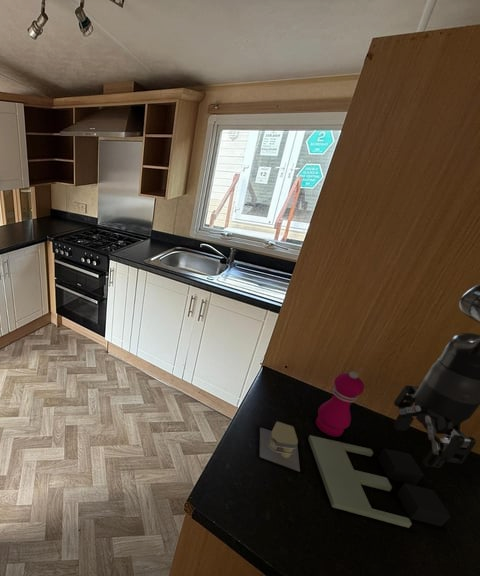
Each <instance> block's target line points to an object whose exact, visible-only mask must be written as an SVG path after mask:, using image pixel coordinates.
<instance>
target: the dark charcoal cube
mask: <svg viewBox="0 0 480 576" xmlns="http://www.w3.org/2000/svg"><path fill="white" fill-rule="evenodd" d="M377 460H378V462H379V464H380V465H381V467H382V470H383V471H384V473H385V475H386V478H387V479H388V480H393V481H396V482H400V483H403V484H404V483H406V484H410V485H414V486H418V484H419V482H420V481H421V480H422V478H423V477H424V475H425V474H424V472H423V471H422V469H421V467H419V465H418V464H417V463H418V462H416V460H415V459H414V457H413V456H412V454H411V453H407V452H403V451H400V450H399V451H398V450H394V449H389V448H383V449H382V451H381V452H380V454H379V455H378V457H377Z"/></svg>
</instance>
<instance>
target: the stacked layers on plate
mask: <svg viewBox="0 0 480 576" xmlns="http://www.w3.org/2000/svg"><path fill="white" fill-rule="evenodd" d="M298 443H299V440H298V436H297V433H296V430H295V427H294V426H293V425H290V424H287V423H284V422H281V421H276V422H275V424H274V426H273V428H272V430H269V429H267V428H264V427H259V458H261V459H264V460H266V461H268V462H269V461H270V462H272V463H274V464H277V465H280V466H283V467H285V468H288V469H291V470H294V471H296V472H298V473H301V468H300V467H301V466H300V456H299V449H298Z"/></svg>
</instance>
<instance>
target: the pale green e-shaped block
mask: <svg viewBox="0 0 480 576" xmlns="http://www.w3.org/2000/svg"><path fill="white" fill-rule="evenodd" d="M307 440H308V443H309V446H310V449H311V451H312V455H313V458H314V459H315V462H316V466H317V469H318V472H319V474H320V476H321V480H322V482H323V485H324V488H325V492H326V494H327V497H328V499H329V502H330V505H331V508H333V509H337V510H341V511H346V512H348V513H352V514H356V515H360V516H363V517H367V518H370V519H374V520H378V521H381V522H385V523H389V524H393V525H396V526H400V527H404V528H407V529H410V527H411V526H412V525H413V523H412V521H411V519H410V517H406V516H403V515H402V516H401V515H398V514H395V513H392V512H391V513H390V512H386V511H384V510H379V509H375V508H372V506H371V503H370V502H369V500H368V498H367V495H366V493H365V491H364V489H363V486H365V487H366V486H367V487H370V488H375V489H378V490H383V491H386V492H390V491H391V490H392V489H393V486H392V484H391V483H390V480H389V479H388V477H387V476H386V477H385V476H381V475H378V474H373V473H369V472H364V471H361V470H356V469H354V467H353V465H352V462H351V460H350V457H349V455H348V454H347V453H348V452H349V453H353V454H357V455H363V456H366V457H371V458H372V456H373V455H374V451H373V449H372V448H369V447H364V446H359V445H355V444H350V443H346V442H341V441H338V440H333V439H327V438H324V437H320V436H315V435H311V434H309V436H308V439H307Z"/></svg>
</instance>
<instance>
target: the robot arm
mask: <svg viewBox="0 0 480 576" xmlns="http://www.w3.org/2000/svg"><path fill="white" fill-rule="evenodd" d="M458 307H459V310H460V311H461V313H463V314H464V315H465V316H467V317H468V318H469V319H471V320H473V321H475V322H476V323H478V324H480V283H478V284H476V285H474V286H472V287H471V288H469V289H468V290H466V292H464V293H463V294H462V295H461V297H460V299H459V302H458ZM393 404H394V406H395V407H398V411H397V412H398V415H397V416H396V419H395V420H394V424H393V427H394V429H395V430H397V431H404V432H405V431H408V430H409V428H410V426H411V425H412V423H413V421H414V419H416V420H417V421H418V422H419V423H420V424H422V426H423V428H424V429H425V430H426V431H427V439H428V440H429V441H430V443H431V449H430V450H429V451H428V453H427V454H426V456H425V457H424V459H423V460H422V463H423V464H424V465H425V467H430V468H436V469H439V468H442V466H443V465H444V463H445V462H447V463H454V464H463V463H464V462H465V460H466V459H467V457H468V456H469V454H470V453H471V451H472V450H473V448H474V447H475V445H476V443H477V441H476V439H475V438H474V437H473V436H467V435H465V434H464V433H463V432H462V431H461V424H462V423H463V422H465V421H467V420H469V419H471V418H472V416H473V414H474V413H476V411H477V410H478V408H479V406H480V334H477V333H473V332H460V333H457V334H455V335H453V337H451V339H450V340H449V341H448V343H447V344H446V346H445V347H444V349H443V351H442V352H441V354H440V355H439V357H438V359H437V360H435V362H434V363H433V364H432V365H431V366H430V368H429V369H428V371H427V373H426V374H425V376H424V378H423V379H422V381H421V383H420V384H419V385H418V386H417V385H409V384H406V385H404V387H403V388H402V389H401V391H400V393H399V394H398V395H397V397H396V398H395V400H394V401H393ZM414 417H415V418H414ZM437 434H439V435H444V437H441V436H440V437H439V436H437ZM441 444H443V445H442V446H443V448H441Z"/></svg>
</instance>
